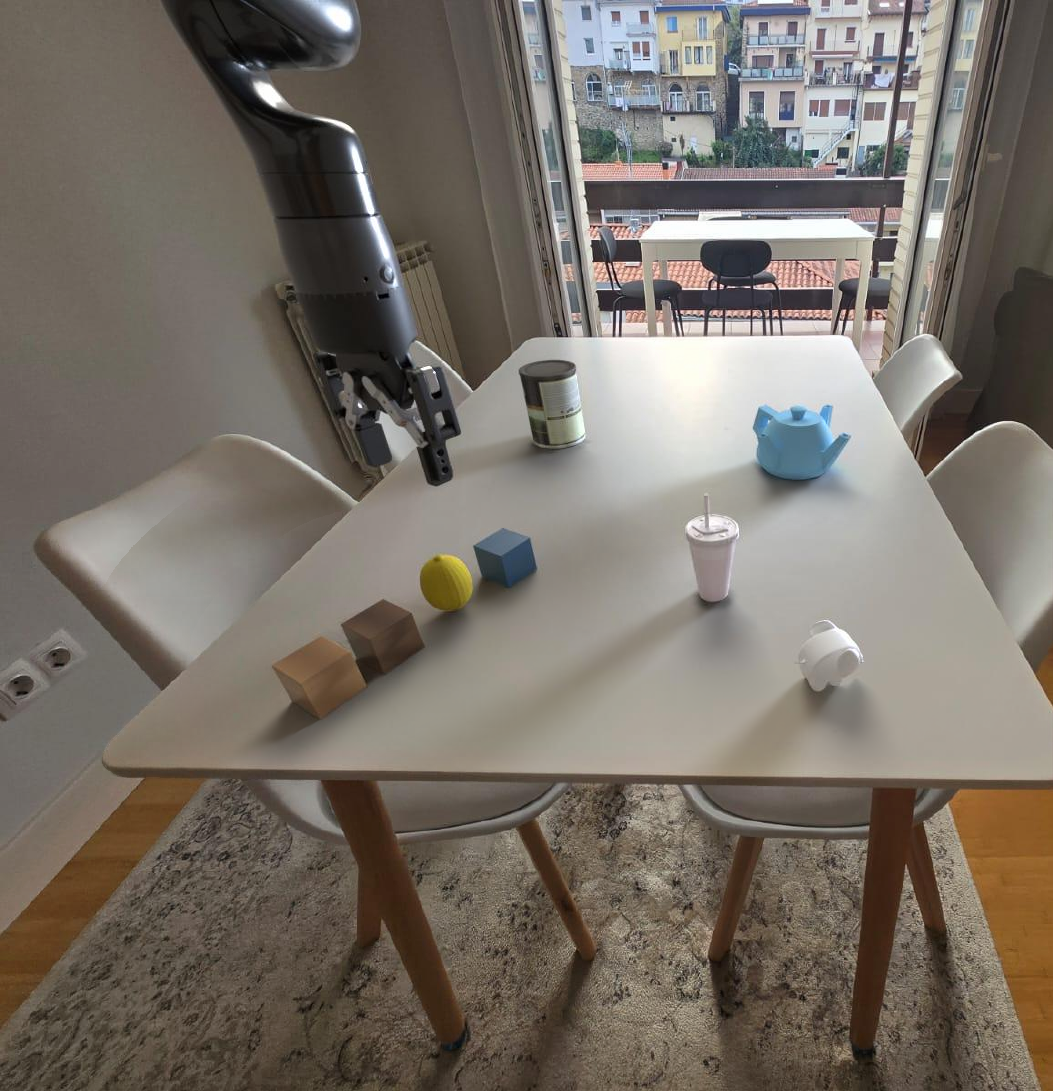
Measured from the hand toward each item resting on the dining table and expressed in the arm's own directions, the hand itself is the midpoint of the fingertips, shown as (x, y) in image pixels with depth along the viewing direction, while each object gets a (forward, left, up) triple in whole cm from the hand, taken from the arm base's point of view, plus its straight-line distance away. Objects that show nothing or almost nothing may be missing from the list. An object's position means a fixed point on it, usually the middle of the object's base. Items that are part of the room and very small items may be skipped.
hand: (410, 473), depth 55 cm
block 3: (+13, +7, -22) cm, 27 cm away
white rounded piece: (+16, -36, -22) cm, 45 cm away
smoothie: (+23, -18, -22) cm, 37 cm away
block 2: (-4, +8, -22) cm, 24 cm away
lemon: (+4, +7, -22) cm, 24 cm away
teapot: (+62, -12, -22) cm, 67 cm away
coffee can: (+51, +34, -22) cm, 65 cm away
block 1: (-11, +7, -22) cm, 26 cm away
